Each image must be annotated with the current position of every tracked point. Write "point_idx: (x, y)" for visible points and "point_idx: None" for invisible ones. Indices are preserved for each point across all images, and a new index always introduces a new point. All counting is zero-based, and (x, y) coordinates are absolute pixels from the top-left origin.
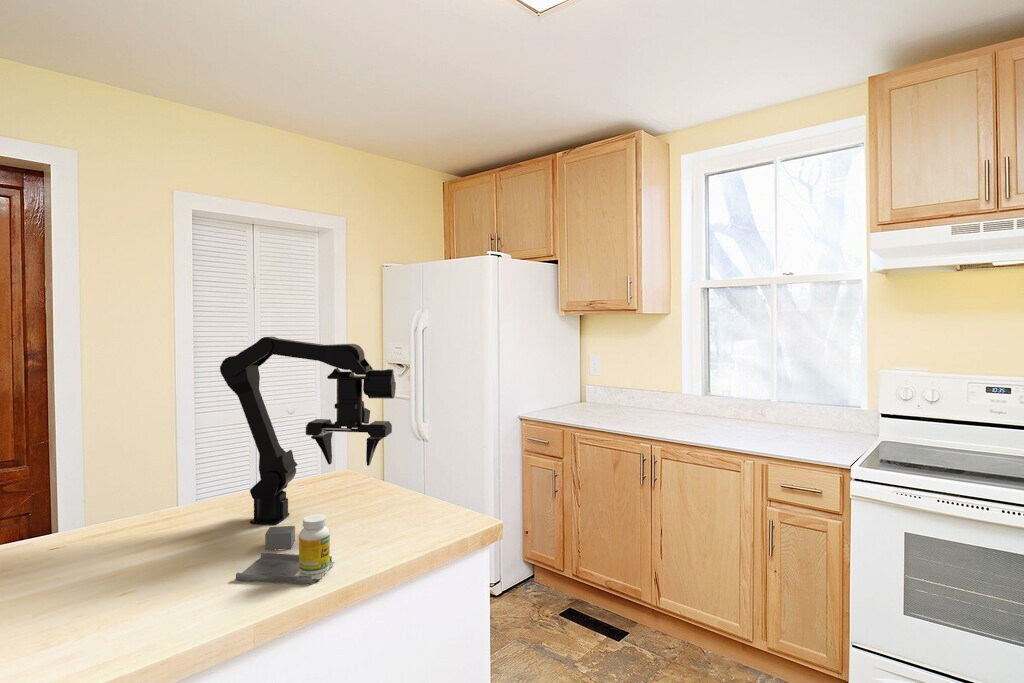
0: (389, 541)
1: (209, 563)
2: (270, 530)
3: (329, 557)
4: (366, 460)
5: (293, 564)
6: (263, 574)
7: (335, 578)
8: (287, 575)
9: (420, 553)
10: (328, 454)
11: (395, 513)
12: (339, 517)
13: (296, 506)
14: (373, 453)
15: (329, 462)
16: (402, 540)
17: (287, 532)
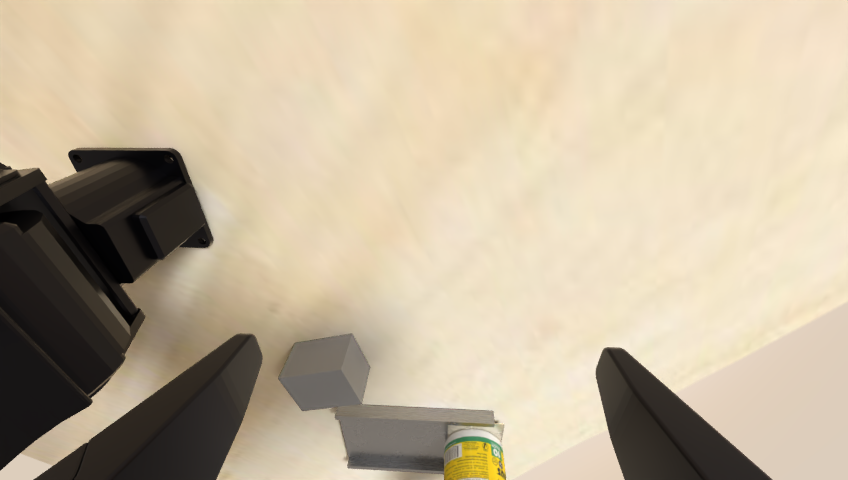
0: (621, 321)
1: (253, 416)
2: (297, 394)
3: (503, 460)
4: (611, 435)
5: (422, 430)
6: (396, 469)
7: (521, 450)
8: (440, 471)
9: (708, 373)
10: (214, 462)
11: (642, 58)
12: (388, 146)
13: (106, 20)
14: (727, 458)
15: (255, 377)
16: (662, 313)
17: (350, 402)
